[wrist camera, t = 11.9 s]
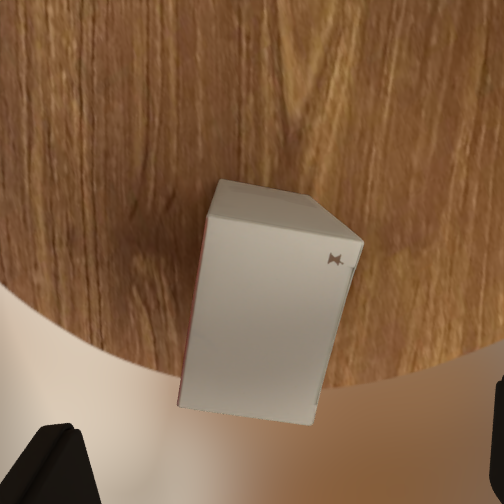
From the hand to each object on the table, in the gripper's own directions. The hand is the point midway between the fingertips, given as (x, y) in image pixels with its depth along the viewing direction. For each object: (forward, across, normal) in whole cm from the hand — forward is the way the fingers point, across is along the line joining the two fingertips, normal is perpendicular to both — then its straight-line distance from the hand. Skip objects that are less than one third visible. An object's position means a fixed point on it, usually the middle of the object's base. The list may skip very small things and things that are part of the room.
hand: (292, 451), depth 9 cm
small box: (+16, 0, 0) cm, 16 cm away
